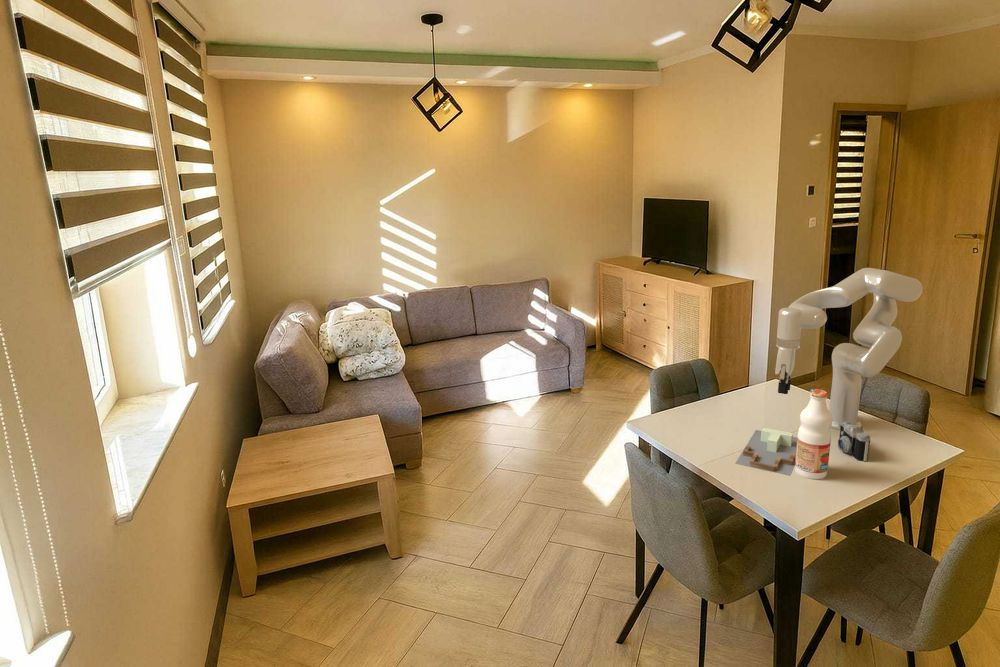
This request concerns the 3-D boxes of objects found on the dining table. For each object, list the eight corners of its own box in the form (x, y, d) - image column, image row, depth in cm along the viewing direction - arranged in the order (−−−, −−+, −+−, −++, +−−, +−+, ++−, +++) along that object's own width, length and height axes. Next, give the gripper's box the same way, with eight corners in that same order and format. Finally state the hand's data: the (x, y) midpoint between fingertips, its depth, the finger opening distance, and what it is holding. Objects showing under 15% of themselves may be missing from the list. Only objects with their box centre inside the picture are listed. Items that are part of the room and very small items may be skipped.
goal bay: (747, 448, 214) (747, 444, 213) (794, 458, 205) (795, 454, 205) (737, 463, 203) (738, 459, 203) (787, 474, 195) (788, 470, 194)
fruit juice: (793, 464, 202) (800, 385, 194) (825, 468, 198) (833, 387, 191) (795, 477, 193) (803, 395, 186) (828, 482, 190) (837, 398, 182)
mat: (755, 430, 228) (755, 429, 228) (805, 439, 219) (805, 439, 219) (735, 464, 204) (735, 463, 203) (790, 476, 194) (790, 475, 194)
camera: (828, 442, 216) (830, 416, 213) (847, 442, 215) (850, 416, 213) (849, 462, 202) (852, 434, 199) (870, 461, 201) (874, 434, 199)
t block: (762, 437, 221) (763, 427, 220) (792, 443, 216) (793, 433, 215) (756, 448, 213) (756, 437, 212) (787, 454, 208) (787, 444, 207)
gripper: (781, 335, 223) (777, 382, 228) (771, 347, 210) (767, 397, 214) (803, 338, 219) (799, 386, 224) (795, 350, 206) (791, 400, 210)
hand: (783, 391), depth 219 cm, fingers open, 3 cm apart
